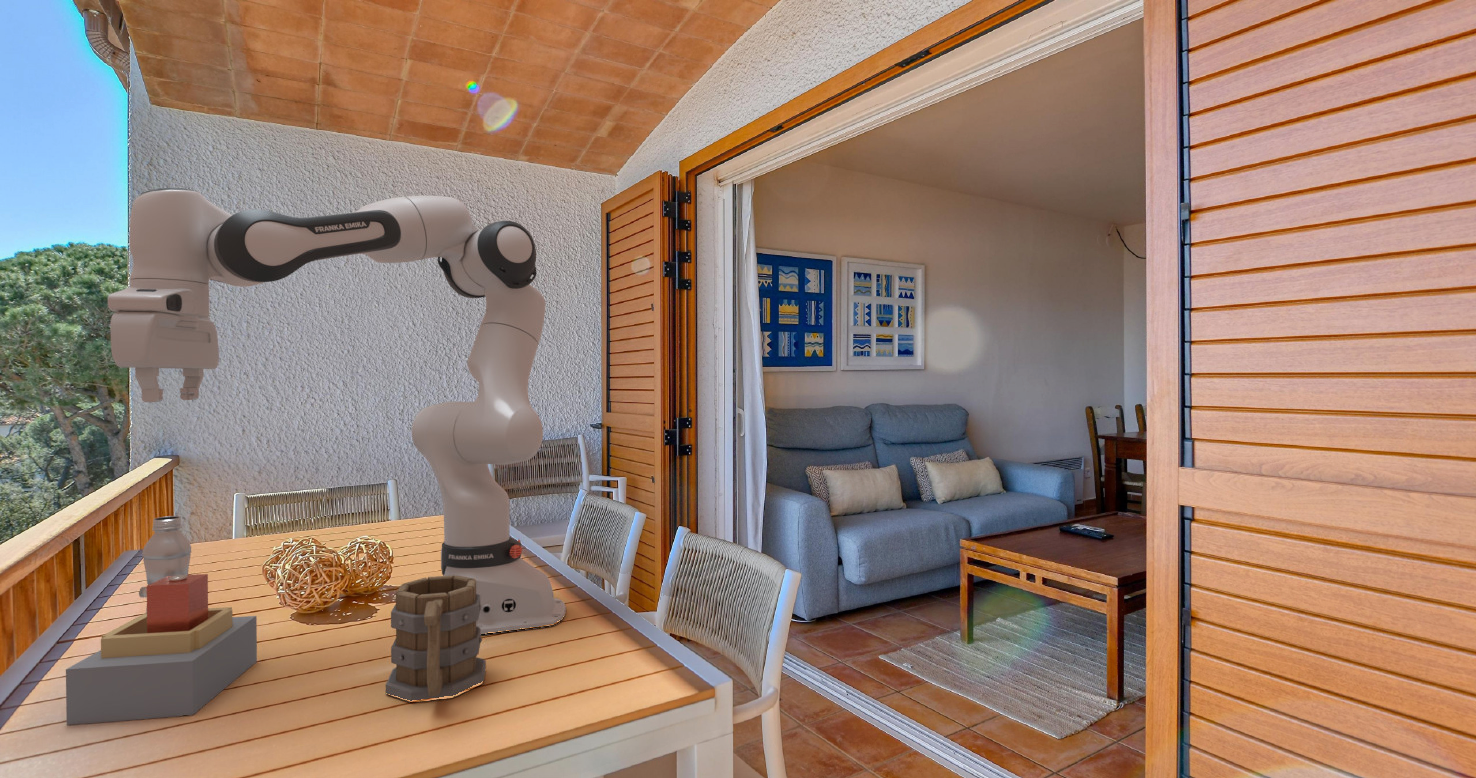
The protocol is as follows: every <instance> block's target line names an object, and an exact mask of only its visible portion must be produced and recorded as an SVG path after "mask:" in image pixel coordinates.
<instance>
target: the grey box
mask: <svg viewBox="0 0 1476 778" xmlns="http://www.w3.org/2000/svg"><path fill="white" fill-rule="evenodd" d="M257 625H258V623H257V615H250V616H249V615H247V616H233V607H232V606H228V607H227V606H226V607H225V606H223V607H208V620H206V621H204V622H203V623H201V624H200V625H198V626H196V627H195V628H193V629H192V630H190V631H179V632H162V633H147V614H145V613H143V614H141V615H139V616H137V617H135V618H133V619H131V620H130V621H127V622H125V623H123V624H122V625H120V626H118V627H116V628H114V629H113V630H110V631H108V632H107V633H104V634H103V635H101V639H100V650H98V651H97V652H95V653H93V654H91V655H89V656H87V657H85V658H83V659H82V660H80V661H79V662H76V663H74V664H72V665H71V666H69V667H67V668H66V669H65V696H66V698H65V702H66V704H65V705H66V707H65V709H66V710H65V711H66V726H71V725H72V726H74V725H75V726H76V725H85V724H98V723H99V724H100V723H111V722H113V723H114V722H123V721H136V720H151V719H160V718H161V719H162V718H174V717H176V718H177V717H184V716H183V715H189V716H194V715H196V713H197V712H199V711H200V710H201V709H202V708H203V707H205V706H206V705H207V704H208V703H209V702H210V700H211V701H212V700H213V699H214V698H216V697H217V695H219V694H220V693H221V692H223V691H224V690H225V689H226V688H228V687H229V686H230V685H231V684H232V683H233V682H235V681H236V680H237V679H238V678H239V677H240V676H241V675H243V674H245V672H246V671H247V670H249V669H250V668H251V667H252V666H254V665H255V664H256V663H257V662H258V641H257V640H258V639H257V638H258V636H257V635H258V634H257V633H258V632H257V631H258V630H257V629H258V628H257ZM205 704H206V705H205ZM199 709H200V710H199ZM198 710H199V711H198ZM193 714H194V715H193ZM150 718H151V719H150Z"/></svg>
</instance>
